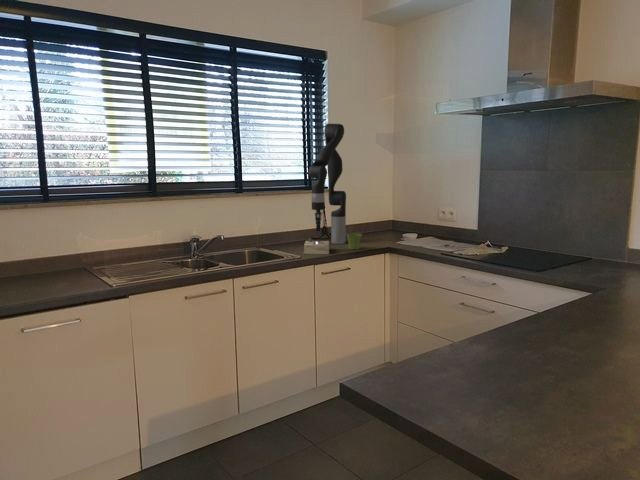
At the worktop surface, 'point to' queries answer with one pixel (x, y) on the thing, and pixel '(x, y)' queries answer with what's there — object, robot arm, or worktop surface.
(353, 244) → the plant pot
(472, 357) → the worktop surface
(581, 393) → the worktop surface
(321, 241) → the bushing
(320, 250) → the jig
